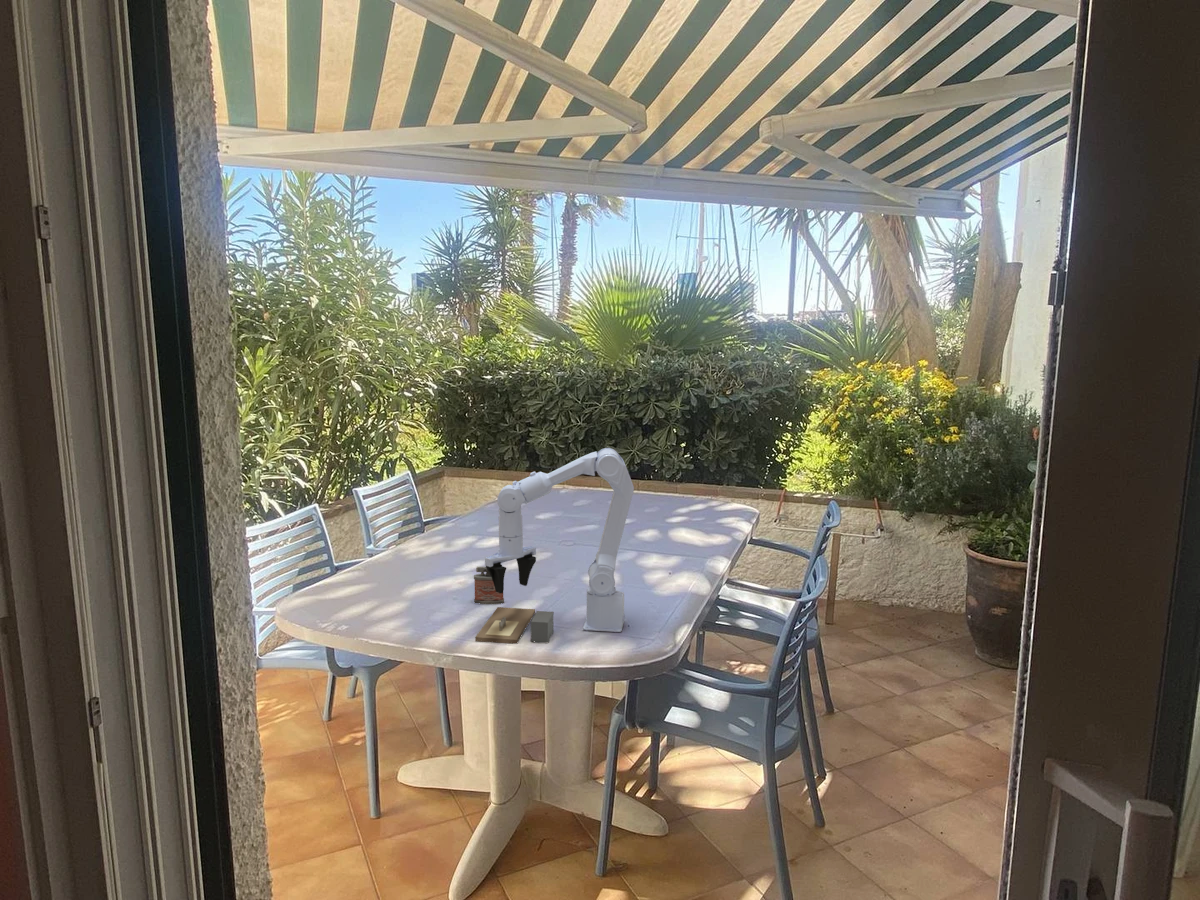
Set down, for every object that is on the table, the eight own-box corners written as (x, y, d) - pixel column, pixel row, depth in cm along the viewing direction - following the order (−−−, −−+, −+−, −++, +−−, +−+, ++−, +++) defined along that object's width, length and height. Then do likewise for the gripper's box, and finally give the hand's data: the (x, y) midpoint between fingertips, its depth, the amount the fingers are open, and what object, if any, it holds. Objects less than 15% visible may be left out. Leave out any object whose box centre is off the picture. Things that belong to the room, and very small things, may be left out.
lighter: (504, 599, 198) (504, 564, 197) (503, 604, 195) (503, 568, 194) (475, 600, 198) (474, 564, 197) (473, 604, 195) (472, 568, 193)
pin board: (535, 612, 189) (535, 601, 189) (516, 643, 169) (516, 630, 169) (497, 610, 190) (497, 599, 190) (475, 641, 171) (475, 628, 170)
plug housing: (553, 631, 177) (553, 611, 176) (547, 643, 170) (547, 622, 169) (537, 630, 177) (537, 610, 177) (530, 641, 170) (530, 621, 170)
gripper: (522, 526, 185) (523, 578, 187) (476, 537, 174) (477, 591, 176) (541, 531, 180) (541, 584, 182) (494, 542, 169) (496, 598, 171)
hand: (511, 588), depth 179 cm, fingers open, 7 cm apart
